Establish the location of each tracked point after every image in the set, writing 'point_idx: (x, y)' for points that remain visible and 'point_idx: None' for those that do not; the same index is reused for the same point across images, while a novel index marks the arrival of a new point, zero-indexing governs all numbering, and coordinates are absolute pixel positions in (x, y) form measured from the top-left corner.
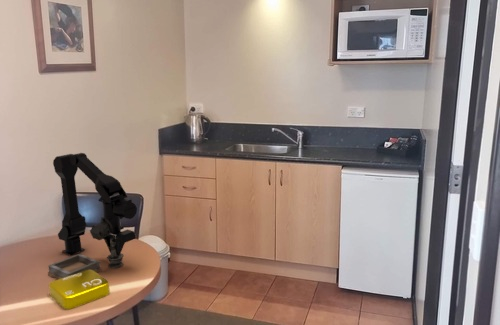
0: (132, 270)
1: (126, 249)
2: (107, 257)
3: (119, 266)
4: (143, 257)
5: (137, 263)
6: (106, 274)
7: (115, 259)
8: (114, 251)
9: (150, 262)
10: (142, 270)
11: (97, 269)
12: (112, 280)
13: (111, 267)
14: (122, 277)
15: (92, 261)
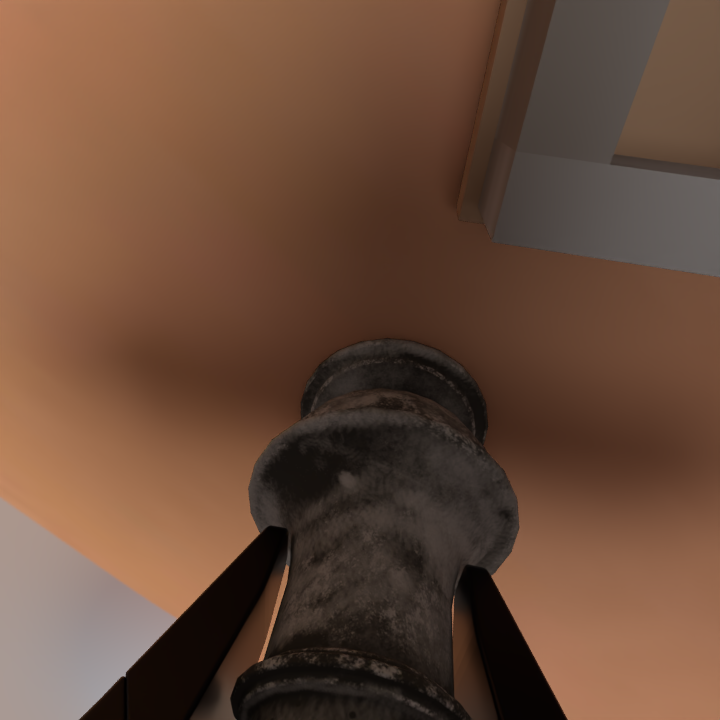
0: (110, 384)
1: (560, 689)
2: (471, 451)
3: (308, 402)
4: (277, 609)
5: (216, 516)
6: (284, 143)
7: (277, 439)
8: (299, 591)
9: (137, 557)
10: (33, 420)
11: (478, 126)
12: (18, 13)
13: (383, 345)
14: (15, 182)
15: (706, 174)
